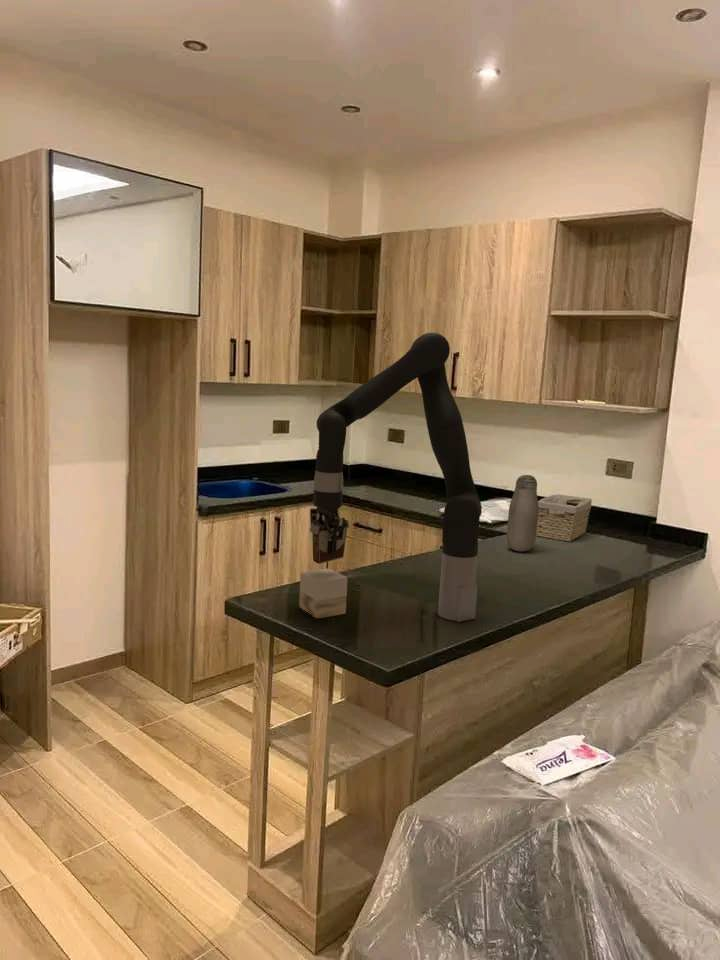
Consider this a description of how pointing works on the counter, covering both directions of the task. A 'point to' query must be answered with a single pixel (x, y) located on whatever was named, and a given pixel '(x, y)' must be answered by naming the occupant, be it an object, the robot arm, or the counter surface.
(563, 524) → the storage basket
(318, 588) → the tower top block
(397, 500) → the counter surface
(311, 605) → the tower base block
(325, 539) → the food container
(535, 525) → the grey bottle
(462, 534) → the robot arm
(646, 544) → the counter surface
